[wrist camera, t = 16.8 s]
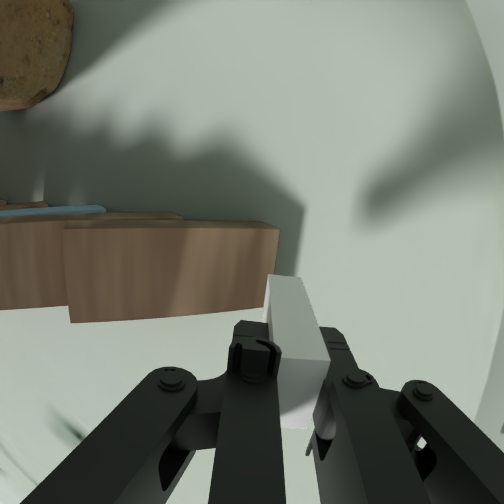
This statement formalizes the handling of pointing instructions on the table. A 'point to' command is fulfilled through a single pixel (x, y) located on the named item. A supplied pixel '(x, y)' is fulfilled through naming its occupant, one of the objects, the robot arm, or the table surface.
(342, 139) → the table surface
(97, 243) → the domino
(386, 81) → the table surface
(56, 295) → the domino
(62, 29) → the bread loaf
